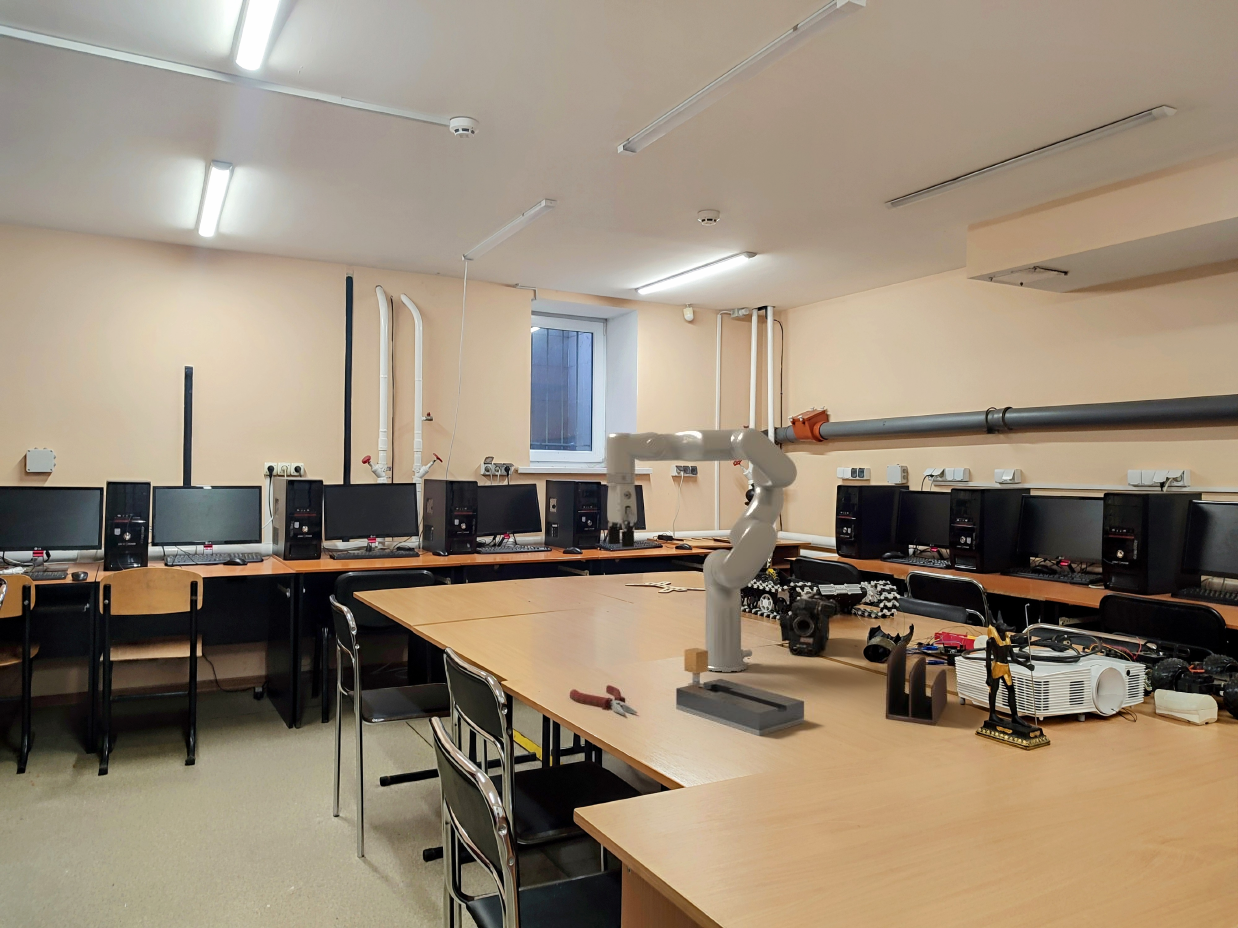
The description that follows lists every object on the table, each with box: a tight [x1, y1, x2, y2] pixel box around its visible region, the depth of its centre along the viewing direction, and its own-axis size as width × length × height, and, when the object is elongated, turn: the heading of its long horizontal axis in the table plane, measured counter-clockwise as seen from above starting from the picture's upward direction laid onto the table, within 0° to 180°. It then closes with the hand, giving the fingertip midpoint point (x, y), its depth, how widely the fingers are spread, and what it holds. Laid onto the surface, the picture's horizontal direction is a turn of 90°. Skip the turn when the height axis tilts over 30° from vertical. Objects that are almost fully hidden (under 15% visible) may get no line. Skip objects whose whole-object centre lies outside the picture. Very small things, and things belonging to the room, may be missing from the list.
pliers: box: [569, 684, 638, 716], centre depth 182 cm, size 12×20×3 cm, turn 28°
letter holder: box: [885, 641, 948, 727], centre depth 179 cm, size 10×20×14 cm, turn 151°
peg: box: [683, 647, 709, 687], centre depth 196 cm, size 4×4×10 cm
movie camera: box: [779, 591, 841, 657], centre depth 244 cm, size 31×18×18 cm, turn 153°
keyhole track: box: [675, 678, 805, 737], centre depth 174 cm, size 14×24×4 cm, turn 39°
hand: (620, 545), depth 212 cm, fingers open, 9 cm apart
